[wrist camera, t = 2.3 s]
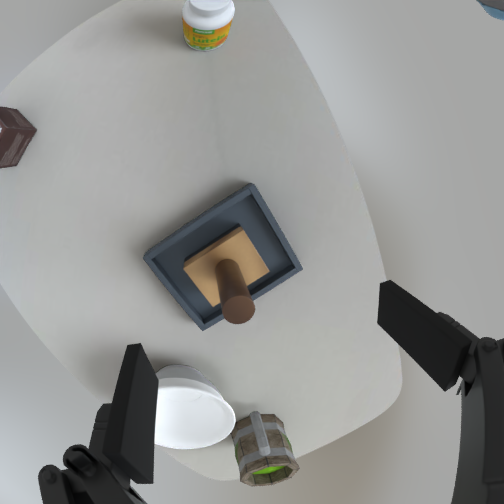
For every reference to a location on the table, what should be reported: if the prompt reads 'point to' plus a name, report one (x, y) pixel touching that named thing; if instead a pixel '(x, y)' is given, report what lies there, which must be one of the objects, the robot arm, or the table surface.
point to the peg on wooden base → (227, 273)
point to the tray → (208, 228)
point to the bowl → (190, 410)
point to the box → (13, 136)
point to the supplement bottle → (207, 23)
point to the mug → (263, 450)
